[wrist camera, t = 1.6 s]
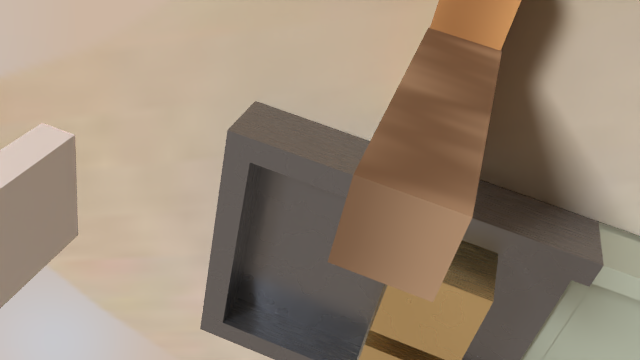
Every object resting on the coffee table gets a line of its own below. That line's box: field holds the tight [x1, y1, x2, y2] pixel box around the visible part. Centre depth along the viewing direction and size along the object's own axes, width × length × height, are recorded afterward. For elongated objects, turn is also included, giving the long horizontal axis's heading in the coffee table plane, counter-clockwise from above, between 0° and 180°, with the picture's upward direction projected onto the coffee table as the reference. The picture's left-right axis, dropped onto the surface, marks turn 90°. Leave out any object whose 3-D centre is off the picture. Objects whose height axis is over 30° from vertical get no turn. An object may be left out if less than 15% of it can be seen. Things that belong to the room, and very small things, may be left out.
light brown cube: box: [370, 240, 498, 360], centre depth 26 cm, size 4×4×4 cm
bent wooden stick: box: [328, 0, 521, 302], centre depth 19 cm, size 3×9×13 cm, turn 168°
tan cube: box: [357, 286, 444, 360], centre depth 29 cm, size 4×4×4 cm
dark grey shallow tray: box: [200, 101, 604, 360], centre depth 29 cm, size 16×13×3 cm
